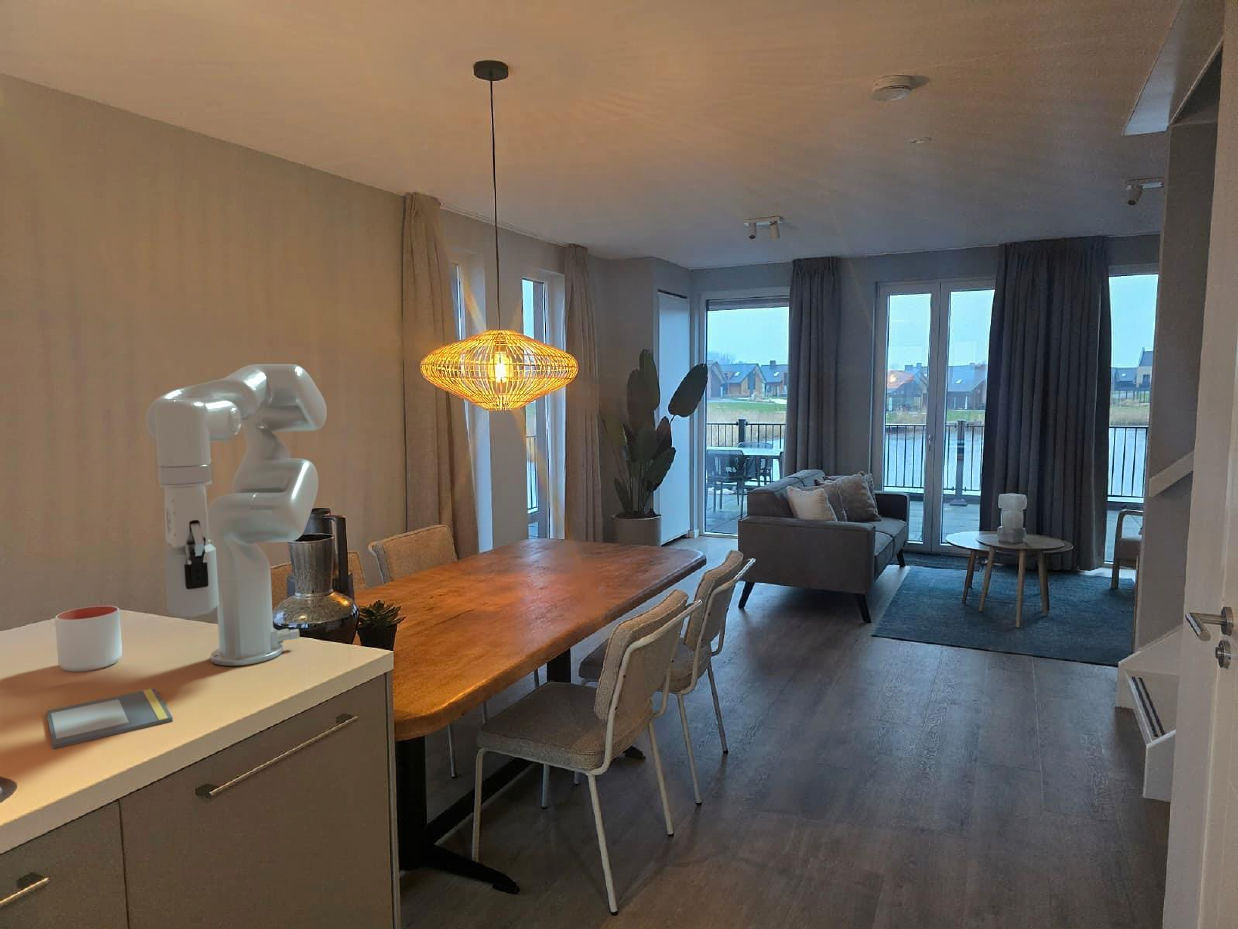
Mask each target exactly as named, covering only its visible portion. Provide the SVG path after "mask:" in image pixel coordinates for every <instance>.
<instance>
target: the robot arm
mask: <svg viewBox="0 0 1238 929" xmlns="http://www.w3.org/2000/svg"><path fill="white" fill-rule="evenodd" d="M327 411H328V410H327V404H326V402H325V399H324V397H323V395H322V393H321V391H320V389H319V388H318V386H317V385H316V384H315V382H314V380H313V379H312V376H310V375H309V373H308V372H307V371H306V370H305V369H304V368H303V367H301V366H300V365H298V364H293V363H268V364H267V363H259V364H258V363H255V364H249V365H245V366H243V367H241V368H238V369H237V370H235V371H234V372H232V373H231V374H228V375H227V376H225V377H223V378H219V379H216V380H215V379H214V380H210V381H206V382H203V383H202V382H201V383H199V384H194V385H190V386H185V387H181V388H176V389H173V390H171V391H168V392H166V393H164V394H162V395H160V396H159V397H158V398H156V399H155V400H154V401H153V402H151V404H150V406H149V407H148V409H147V412H146V415H145V425H146V429H147V431H148V433H149V434H150V435H151V437H153V438H154V440H156V452H157V453H156V454H157V465H158V466H157V470H158V484H159V485H158V487H159V488H164V489H165V490H164V514H165V515H164V517H165V518H164V519H165V520H164V523H165V526H164V527H165V541H166V543H167V544H168V543H170V544H171V545H172V547H174V548H175V549H180V546H184V551H185V557H186V563H187V564H185V565H184V569H185V585H186V588H187V589H196V588H202V587H207V586H208V567H207V558H206V552H205V547H204V546H206V545H207V544H208V542H209V539H210V540H211V542H210V543H211V545H213V546H214V547H215V548H216V563H217V580H218V597H219V605H218V606H217V607H216V608H217V609H216V610H217V626H218V627H217V629H218V632H217V633H218V645H219V646H218V648H216V649H214V650H213V651H212V652H211V654H210V662H211V663H213V664H215V665H218V666H224V667H225V666H226V667H229V666H230V667H231V666H232V667H235V666H246V665H252V664H253V665H254V664H258V663H263V662H265V661H270V660H272V659H274V658H277V657H278V656H280V655H281V654H282V653H283V651H284V648H283V644H282V643H283V642H284V641H291V640H297V639H300V635H301V634H300V630H299V628H294V629H289V628H283V629H279V630H278V629H276V628H275V627H274V622H273V620H274V619H273V618H274V616H273V600H272V597H273V596H272V578H271V577H272V576H271V564H270V561H269V558H268V556H267V555H266V553H265V552H264V550H262V548H261V547H260V546H259V545H258V544H260V543H286V542H288V543H290V542H294V541H296V540H299V538H300V537H301V536H303V534H304V532H305V530H306V528H307V524H308V522H309V520H310V516H311V513H312V510H313V508H314V504H315V503H316V499H317V495H318V490H319V476H318V471H317V468H316V466H315V465H314V464H313V462H311V461H310V460H308V459H305V458H294V457H293V458H291V452H290V449H289V448H288V446H287V445H286V443H285V442H284V441H283V440H282V439H281V438H280V437H279V436H277V435H276V434H275V433H274V432H311V431H317V430H320V429H321V428H322V427H323V426H324V425H325V423H326V420H327V415H328V412H327ZM241 427H242V429H243V434H244V435H243V436H244V439H245V444H246V451H245V454H244V456H243V458H242V460H241V462H240V464H239V466H238V468H237V470H236V473H235V474H234V477H233V480H232V484H231V492H232V493H227V494H223V495H220V496H217V497H216V498H214V499H213V500H212V501H211V502H210V503H209V505H208V503H207V502H208V501H207V498H208V497H207V491H206V486H209V485H212V484H213V478H212V463H211V462H212V460H211V446H210V444H211V443H221V442H222V443H223V442H228V441H230V440H232V439H233V438H235V437H236V436H237V435H238V434H239V432H240V430H241ZM190 543H193V544H190ZM204 543H205V544H204ZM187 544H190V545H187ZM189 550H191V551H189ZM190 554H191V556H190Z"/></svg>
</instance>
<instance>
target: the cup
mask: <svg viewBox="0 0 1238 929" xmlns="http://www.w3.org/2000/svg"><path fill="white" fill-rule="evenodd" d="M54 622H55V636H56V646H57V647H56V649H57V661H58V662H57V664H58V665H59V667H60V668H61V669H62V670H64V671H66V672H74V673H76V672H89V671H90V672H91V671H95V670H99V669H103V668H106V667H109V666H111V665H113V664H116V663H117V662H118V661H119V660H120V659H121V658H122V655H123V645H122V644H123V643H122V629H121V628H122V627H121V612H120V608H119V607H117V606H114V605H98V606H97V605H96V606H88V607H87V606H86V607H85V606H84V607H80V608H74V609H70V610H67V611H66V610H65V611H64V612H61V613H59V614H57V615H56V616H55V617H54Z"/></svg>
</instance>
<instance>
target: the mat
mask: <svg viewBox="0 0 1238 929" xmlns="http://www.w3.org/2000/svg"><path fill="white" fill-rule="evenodd" d="M45 712H46V718H47V724H48V729H49V734H50V738H51V739H50V740H51V744H52V749H59V748H63V747H67V746H71V745H76V744H80V743H85V742H88V741H93V740H97V739H101V738H106V737H110V736H115V735H119V734H123V733H127V732H131V731H135V730H137V731H138V730H140V729H145V728H149V727H153V726H157V725H162V724H166V723H170V722H173V721H174V720H173V716H172V715H171V713H170V711H169V710H168V707H167V706H166V704H165V702H164V701H163V699H162V697H161V695H160V694H159V692H158V691H157V689H156V688H147V689H142V690H140V691H135V692H131V693H130V692H129V693H125V694H120V695H116V696H112V697H111V696H110V697H106V698H102V699H97V700H91V701H87V702H81V703H77V704H73V705H72V704H71V705H67V706H64V707H63V706H62V707H58V708H53V709H48V710H45Z"/></svg>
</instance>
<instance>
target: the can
mask: <svg viewBox="0 0 1238 929" xmlns="http://www.w3.org/2000/svg"><path fill="white" fill-rule="evenodd" d="M190 544H193V543H190ZM190 544H187V545H190ZM204 544H205V543H204ZM167 545H168V547H167V548H166V549H165V551H164V552H163V560H164V574H165V576H164V577H165V590H166V607H167V612H169V613H170V614H172V615H173V616H174V617H177V618H191V617H199V616H204V615H207V614H210V613H212V612H213V611H215V609H216V608H217V606H218V605H219V597H218V580H217V563H216V548H215V547H214V546H213V545H212V542H211V538H209V542H208V544H207V545H206V546H204V547H205V552H206V558H207V567H208V586H207V587H202V588H196V589H187V588H186V585H185V569H184V565H185V564H187V563H186V557H185V551H184V546H180V549H175V548H174V547H172V545H171V544H170V543H168V542H167ZM189 551H191V550H189ZM190 556H191V554H190Z"/></svg>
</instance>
